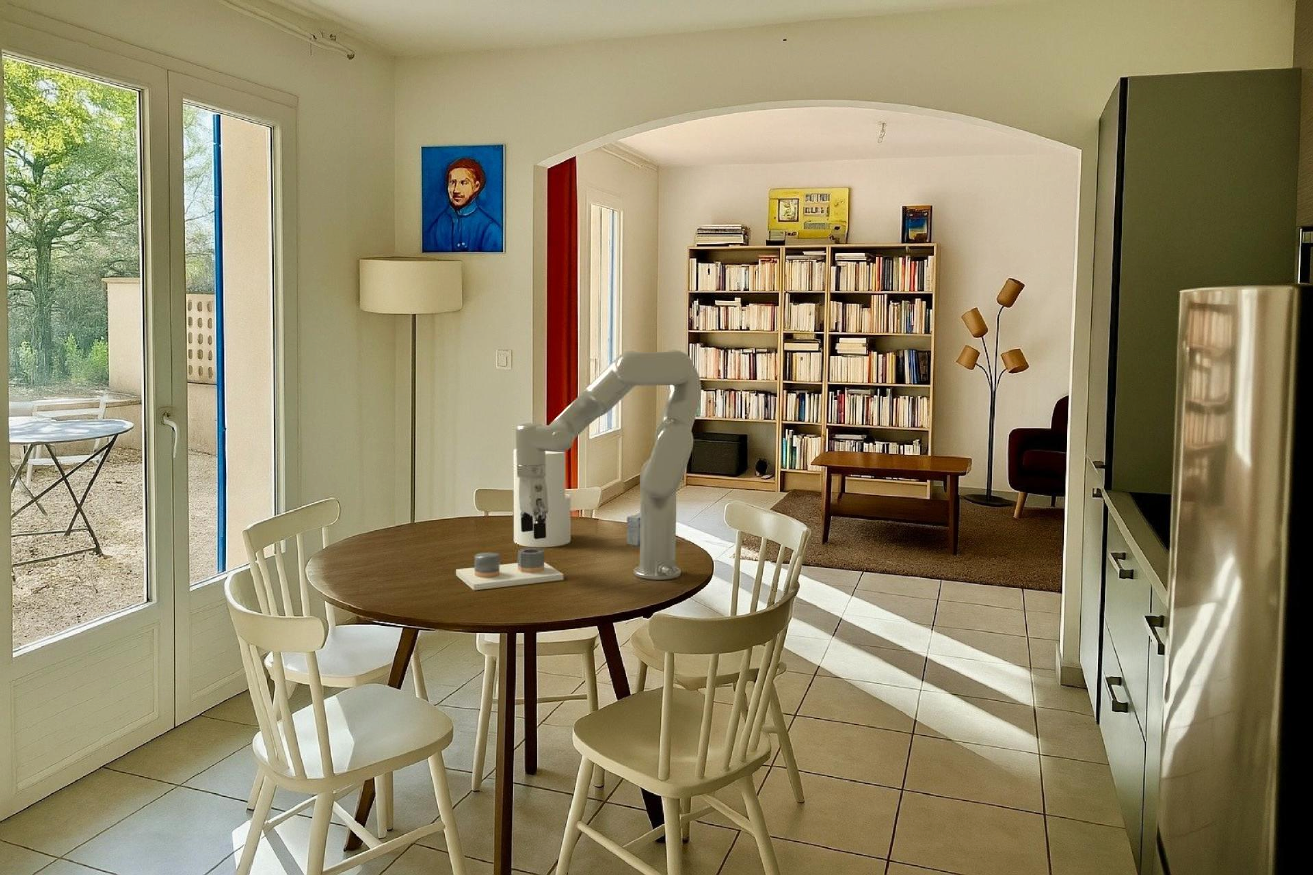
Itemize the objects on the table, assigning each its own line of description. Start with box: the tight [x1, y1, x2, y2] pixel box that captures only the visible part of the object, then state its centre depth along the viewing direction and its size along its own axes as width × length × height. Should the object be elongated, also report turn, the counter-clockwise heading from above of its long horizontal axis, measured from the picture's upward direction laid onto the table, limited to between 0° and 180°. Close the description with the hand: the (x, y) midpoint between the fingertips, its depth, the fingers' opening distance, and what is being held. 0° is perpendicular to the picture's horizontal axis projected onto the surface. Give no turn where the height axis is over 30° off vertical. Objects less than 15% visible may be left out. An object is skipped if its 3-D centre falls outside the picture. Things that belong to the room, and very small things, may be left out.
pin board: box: [455, 552, 564, 591], centre depth 258 cm, size 16×24×6 cm, turn 117°
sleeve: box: [517, 547, 545, 573], centre depth 260 cm, size 6×6×5 cm
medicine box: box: [626, 513, 641, 547], centre depth 299 cm, size 8×4×9 cm, turn 143°
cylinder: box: [513, 448, 572, 548], centre depth 299 cm, size 17×17×28 cm
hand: (533, 534), depth 259 cm, fingers open, 9 cm apart
